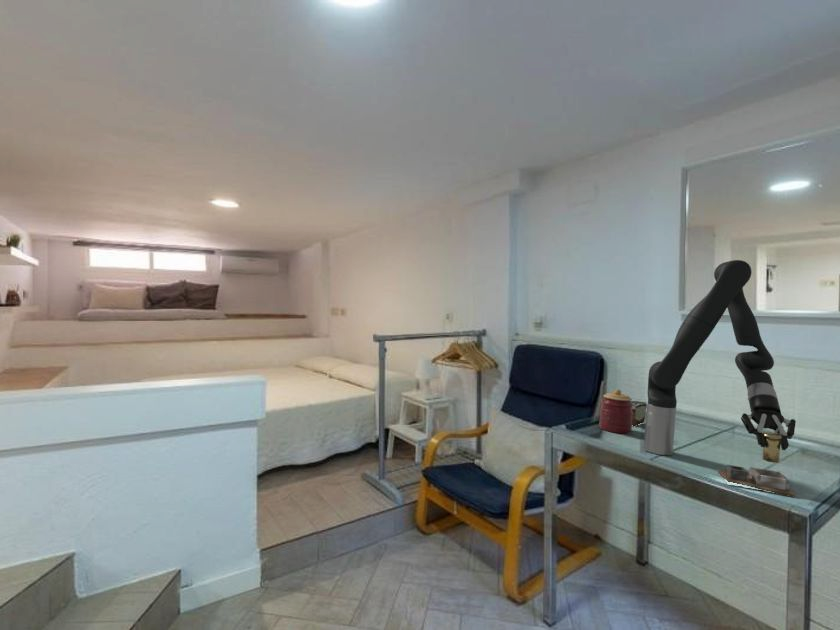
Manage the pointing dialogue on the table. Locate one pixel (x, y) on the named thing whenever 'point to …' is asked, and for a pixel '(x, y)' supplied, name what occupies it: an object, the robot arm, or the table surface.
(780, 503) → the table surface
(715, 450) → the table surface
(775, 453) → the gold round-topped cylinder
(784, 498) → the table surface
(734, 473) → the collar base
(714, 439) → the table surface
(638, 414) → the food container
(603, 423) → the canister
